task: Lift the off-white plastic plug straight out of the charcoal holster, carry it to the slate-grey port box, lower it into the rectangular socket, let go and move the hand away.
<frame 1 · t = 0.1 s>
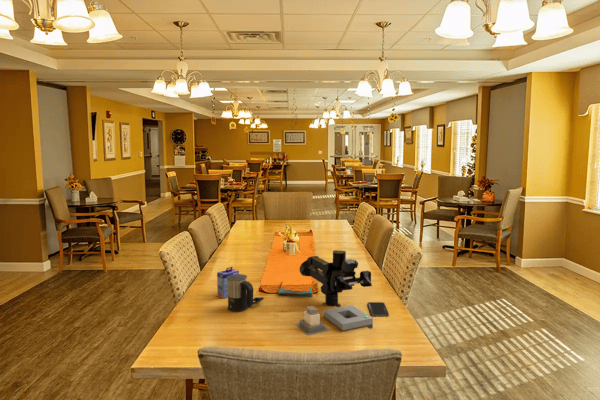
hand: (361, 286, 183), 17 cm above the table, tool horizontal, fingers open, 9 cm apart
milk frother: (245, 306, 208), on the table
port: (347, 323, 188), on the table
plug: (311, 327, 182), point 1 cm above the table, touching holster
phone: (378, 311, 203), on the table
ink cartridge box: (228, 295, 223), on the table
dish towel: (296, 290, 232), on the table
holster: (311, 329, 182), on the table
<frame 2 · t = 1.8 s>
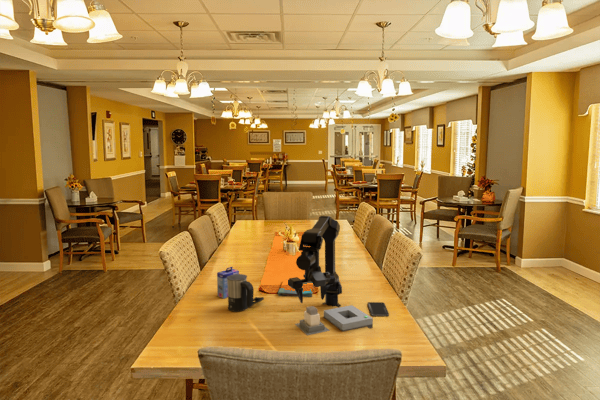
hand: (312, 301, 181), 12 cm above the table, tool pointing down, fingers open, 9 cm apart
nothing on the table moved.
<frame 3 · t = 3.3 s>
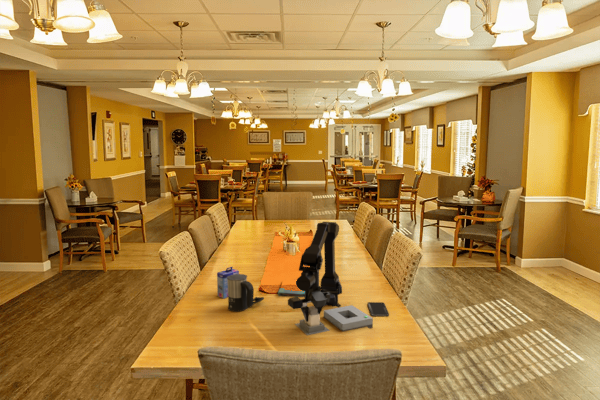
hand: (311, 320, 182), 4 cm above the table, tool pointing down, fingers closed on plug, 4 cm apart
plug: (312, 327, 182), point 1 cm above the table, touching gripper, holster
everything else where it was.
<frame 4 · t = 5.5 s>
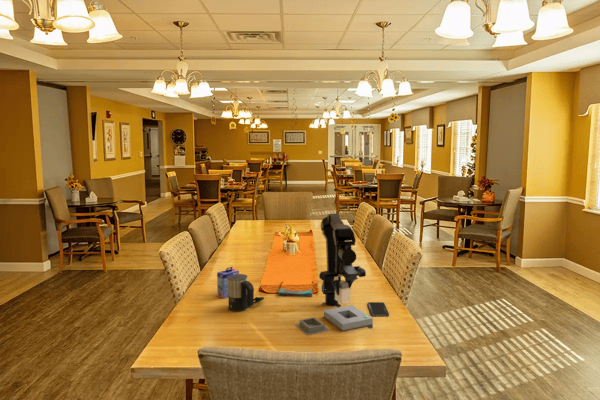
hand: (342, 294, 185), 13 cm above the table, tool pointing down, fingers closed on plug, 4 cm apart
plug: (342, 300, 186), point 10 cm above the table, touching gripper
everything else where it was.
when the fingers open (5 cm above the table, at t = 8.0 s): plug stays where it is, resting on port.
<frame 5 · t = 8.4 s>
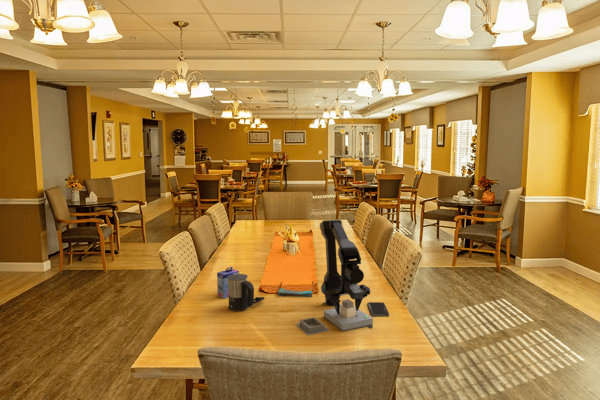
hand: (347, 312, 187), 5 cm above the table, tool pointing down, fingers open, 9 cm apart
plug: (347, 320, 188), point 1 cm above the table, touching port
everything else where it was.
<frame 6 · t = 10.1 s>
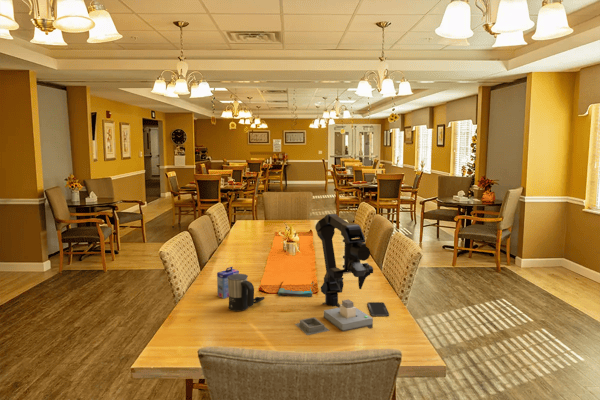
hand: (350, 290, 190), 13 cm above the table, tool pointing down, fingers open, 9 cm apart
nothing on the table moved.
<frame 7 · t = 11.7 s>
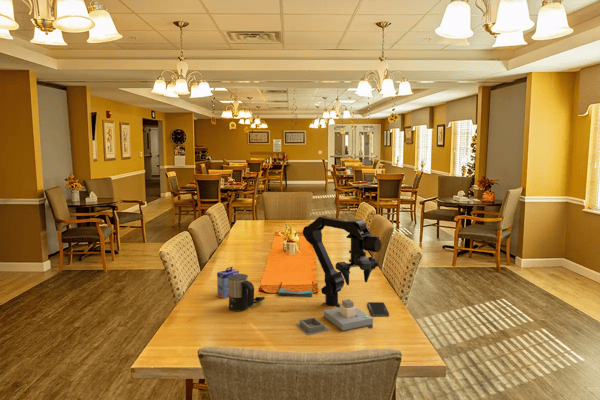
hand: (356, 283, 198), 13 cm above the table, tool pointing down, fingers open, 9 cm apart
nothing on the table moved.
at the end: plug 0.0 cm off-centre on the port, point 1.5 cm above the port's base; plug tilted 0°; the gripper is holding nothing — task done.
